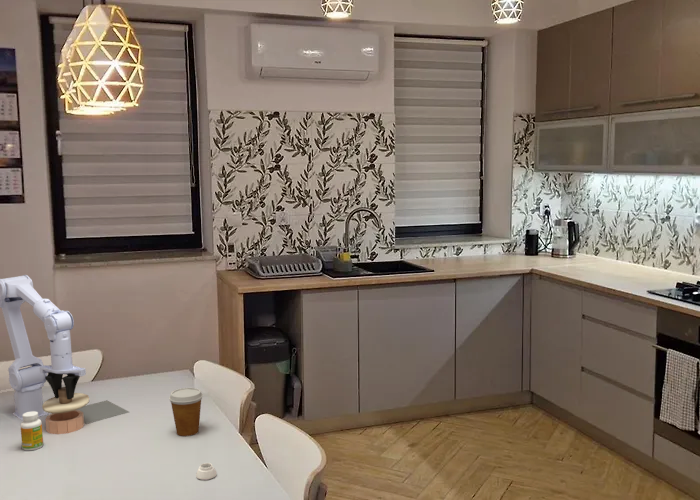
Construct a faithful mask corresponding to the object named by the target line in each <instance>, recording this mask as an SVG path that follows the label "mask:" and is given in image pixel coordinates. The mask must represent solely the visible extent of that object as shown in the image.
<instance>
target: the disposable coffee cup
mask: <svg viewBox="0 0 700 500" xmlns="http://www.w3.org/2000/svg"><path fill="white" fill-rule="evenodd" d="M203 397H204V396H203V393H202V391H201V389H200V388H196V387H181V388H177V389H175V390H173V391H171V392H170V395H169V397H168V400H169V402H170V404H171V409H172V414H173V419H174V424H175V431H176V435H177V436H180V437H189V436H190V437H191V436H193V435H197V434H199V432H200V421H201V420H200V419H201V408H202V407H201V405H202V399H203Z"/></svg>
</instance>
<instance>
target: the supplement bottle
mask: <svg viewBox="0 0 700 500" xmlns="http://www.w3.org/2000/svg"><path fill="white" fill-rule="evenodd" d="M22 417H23V420H24V421H22V422H20V435H21V438H20V439H21V449H22V450H23V451H36V450H40V448H42V447H43V446H44V437H43V435H44V434H43V424H42V423H43V422H42V420H41V419H39V417H38V412H35V411H31V412H26V413H24V414H23V415H22Z"/></svg>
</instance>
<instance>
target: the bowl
mask: <svg viewBox="0 0 700 500" xmlns="http://www.w3.org/2000/svg"><path fill="white" fill-rule="evenodd" d="M84 426H85V423H84V415H83V412H81V411H80V410H74V411H71V412H66V413H49V414H48V415H46V417H45V430H46V431H45V432H47V433H49V434H51V435H52V434H53V435H65V434H71V433H73V432H77V431H79V430H81V429H83V428H84Z"/></svg>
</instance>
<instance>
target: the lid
mask: <svg viewBox="0 0 700 500" xmlns="http://www.w3.org/2000/svg"><path fill="white" fill-rule="evenodd" d="M58 395H59V398H55V396H53V397H51V398H49V399H47V400H45V401H43V405H42V407H43V410H44V411H45V412H47V413H49V414H52V413H66V412H71V411H74V410H77V409H80V408H82V407H84V406H86V405H89V402H90V396H89V395H88V394H86V393H82V392H74V397H73V398H71V399H67V396H66V388H65V386H62V388H59V389H58Z"/></svg>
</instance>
